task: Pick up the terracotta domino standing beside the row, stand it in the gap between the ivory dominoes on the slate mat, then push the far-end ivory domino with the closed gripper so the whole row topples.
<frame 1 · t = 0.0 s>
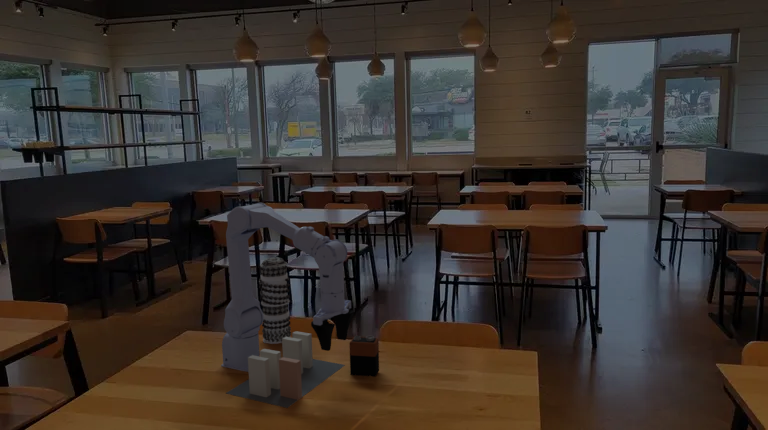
hand: (334, 344, 138), 10 cm above the table, fingers open, 7 cm apart
decorative candle: (277, 340, 171), on the table
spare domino: (291, 396, 132), resting on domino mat
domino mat: (288, 379, 142), on the table
domino 4: (272, 386, 138), resting on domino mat
domino 5: (260, 394, 134), resting on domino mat
battery: (364, 374, 145), on the table
domino 2: (293, 372, 146), resting on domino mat
domino 1: (303, 365, 150), resting on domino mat
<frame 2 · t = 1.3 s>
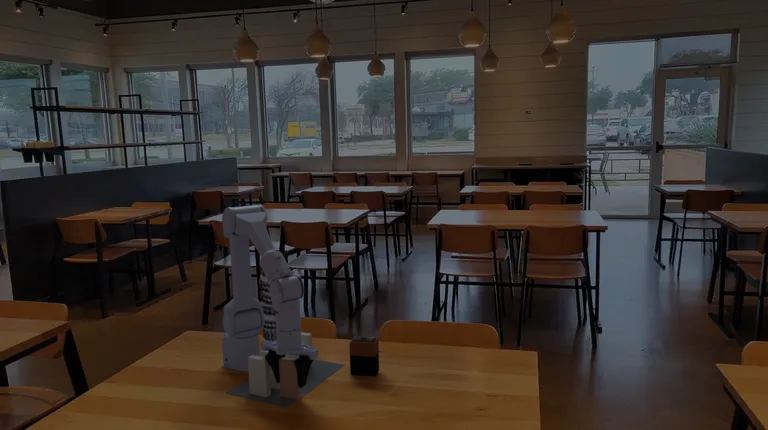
hand: (291, 383, 132), 4 cm above the table, fingers open, 6 cm apart
domino 4: (272, 386, 138), resting on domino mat, touching gripper
domino 5: (260, 394, 134), resting on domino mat, touching gripper
everything else where it was.
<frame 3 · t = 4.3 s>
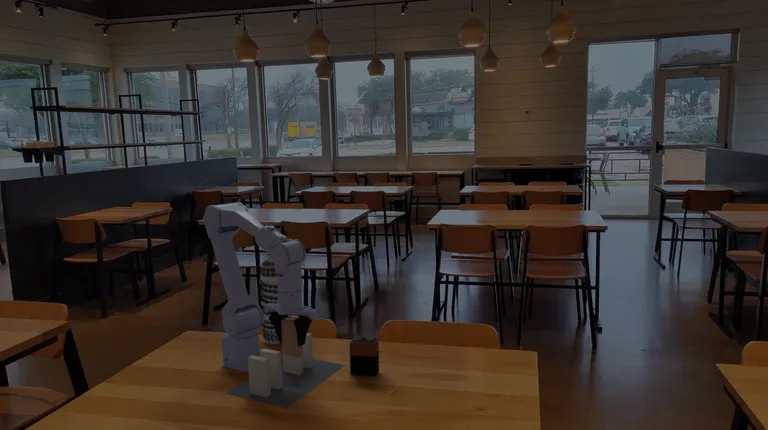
hand: (292, 343, 139), 10 cm above the table, fingers closed on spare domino, 5 cm apart
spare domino: (292, 354, 139), point 7 cm above the table, touching gripper
domino 4: (272, 386, 138), resting on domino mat
domino 5: (260, 394, 134), resting on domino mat
everything else where it was.
when the fingers open (4 cm above the table, at t = 6.7 s): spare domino drops 1 cm, resting on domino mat.
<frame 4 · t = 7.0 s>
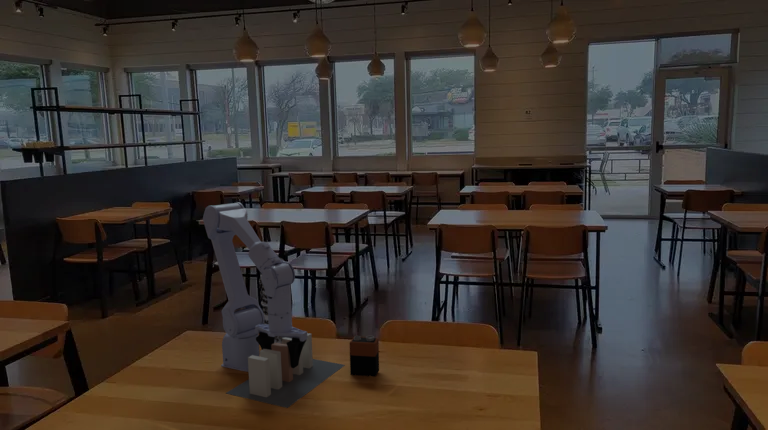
hand: (282, 364, 141), 4 cm above the table, fingers open, 7 cm apart
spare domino: (283, 379, 142), resting on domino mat
everything else where it was.
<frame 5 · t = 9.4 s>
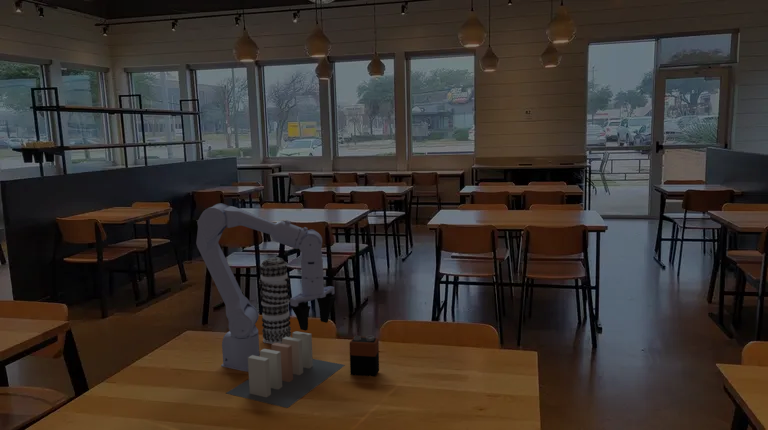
hand: (314, 325, 151), 10 cm above the table, fingers open, 7 cm apart
nothing on the table moved.
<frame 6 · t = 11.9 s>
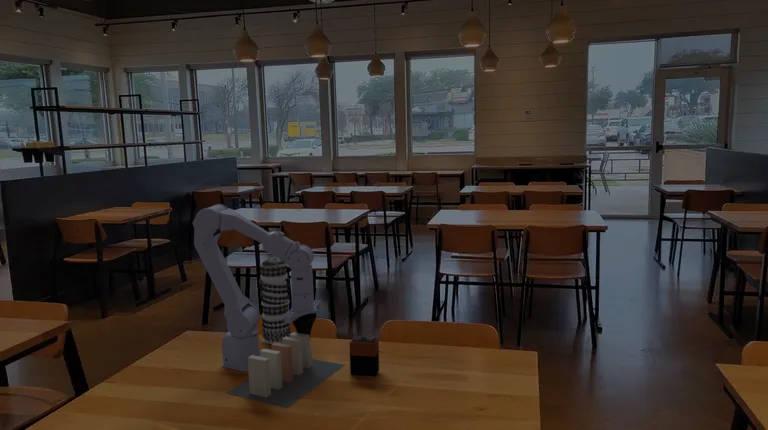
hand: (304, 341, 150), 7 cm above the table, fingers closed
domino 1: (303, 365, 150), point 1 cm above the table, tilted 8°, touching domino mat
everything else where it was.
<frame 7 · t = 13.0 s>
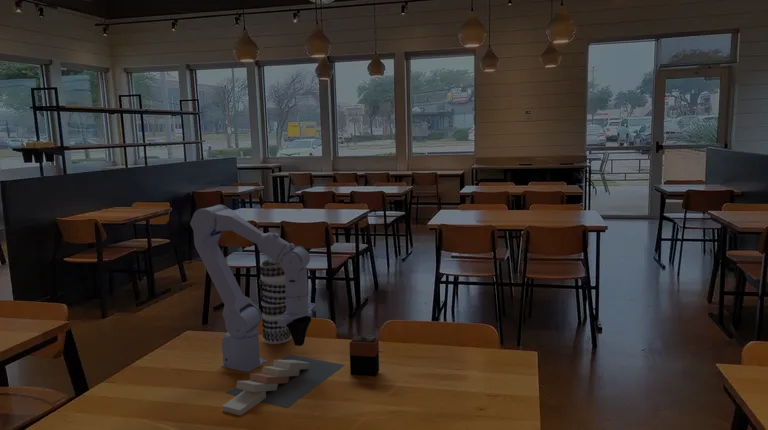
hand: (299, 344, 147), 7 cm above the table, fingers closed
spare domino: (280, 378, 141), point 1 cm above the table, tilted 69°, touching domino 2, domino 4, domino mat
domino 4: (268, 385, 137), point 1 cm above the table, tilted 69°, touching domino 5, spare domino
domino 5: (257, 392, 133), point 1 cm above the table, tilted 93°, touching domino 4, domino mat
domino 2: (291, 370, 145), point 1 cm above the table, tilted 69°, touching domino 1, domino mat, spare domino
domino 1: (301, 364, 149), point 1 cm above the table, tilted 69°, touching domino 2
everything else where it was.
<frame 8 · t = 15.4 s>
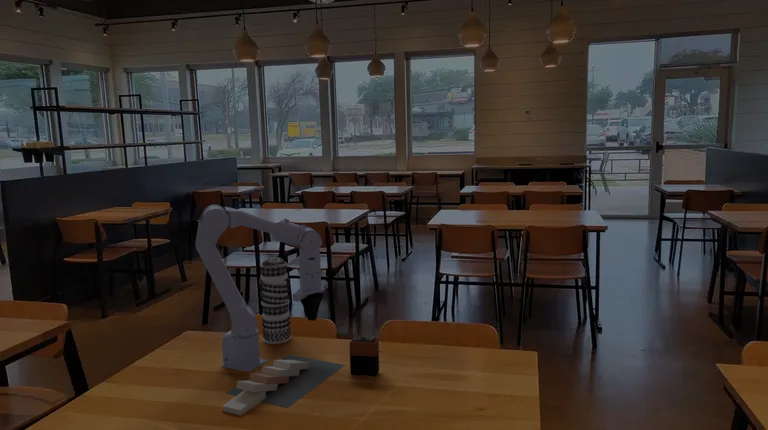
hand: (312, 319, 156), 10 cm above the table, fingers closed
nothing on the table moved.
at the end: domino 5 tilted 93°; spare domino tilted 69°; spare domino inside the target area (0.1 cm from its centre), point 1.1 cm above the table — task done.
